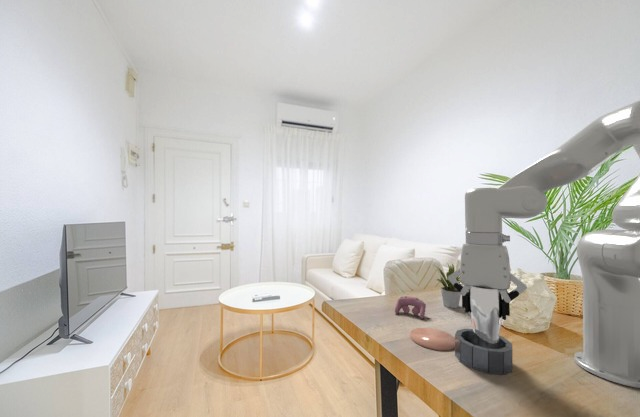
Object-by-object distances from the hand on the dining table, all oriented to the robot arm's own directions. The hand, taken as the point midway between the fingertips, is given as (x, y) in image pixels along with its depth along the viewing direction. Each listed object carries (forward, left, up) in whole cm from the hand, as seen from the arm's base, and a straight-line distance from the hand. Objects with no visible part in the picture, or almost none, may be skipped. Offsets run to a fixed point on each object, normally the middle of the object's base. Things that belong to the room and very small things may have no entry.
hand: (485, 313), depth 63 cm
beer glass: (0, 0, -9) cm, 9 cm away
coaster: (+13, -4, -11) cm, 17 cm away
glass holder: (0, 0, -11) cm, 11 cm away
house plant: (+12, -37, -11) cm, 40 cm away
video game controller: (+23, -19, -11) cm, 32 cm away
